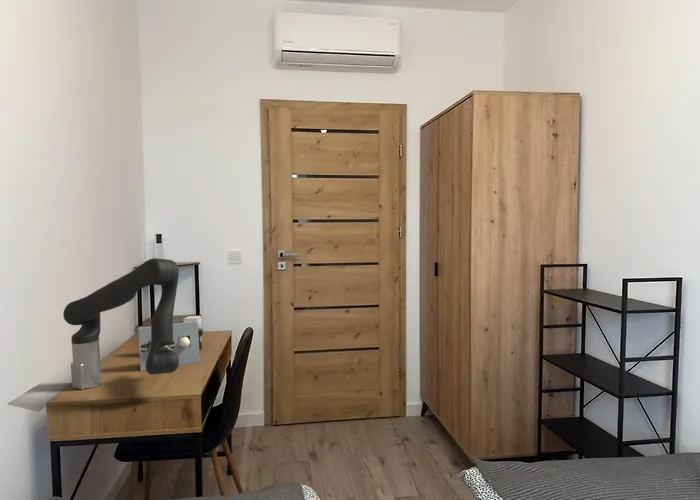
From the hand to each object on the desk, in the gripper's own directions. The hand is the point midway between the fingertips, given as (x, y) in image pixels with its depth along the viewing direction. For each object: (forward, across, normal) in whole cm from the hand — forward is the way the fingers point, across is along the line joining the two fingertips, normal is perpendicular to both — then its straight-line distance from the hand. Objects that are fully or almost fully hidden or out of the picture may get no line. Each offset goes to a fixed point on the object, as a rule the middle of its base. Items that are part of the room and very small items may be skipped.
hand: (156, 341), depth 193 cm
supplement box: (+56, -21, +14) cm, 61 cm away
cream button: (+10, -12, +5) cm, 16 cm away
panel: (+14, -6, +14) cm, 20 cm away
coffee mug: (+35, -20, +14) cm, 43 cm away
